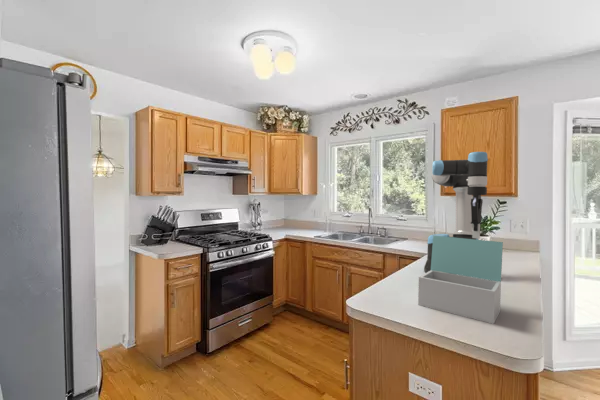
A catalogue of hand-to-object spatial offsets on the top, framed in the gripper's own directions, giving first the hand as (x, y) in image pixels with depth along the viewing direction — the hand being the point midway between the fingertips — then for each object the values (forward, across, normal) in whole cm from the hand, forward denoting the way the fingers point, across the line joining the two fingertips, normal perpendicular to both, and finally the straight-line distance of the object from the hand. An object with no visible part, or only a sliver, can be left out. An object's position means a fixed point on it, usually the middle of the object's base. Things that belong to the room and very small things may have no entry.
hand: (476, 238), depth 132 cm
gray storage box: (+28, +18, -3) cm, 33 cm away
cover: (+8, +9, -3) cm, 12 cm away
